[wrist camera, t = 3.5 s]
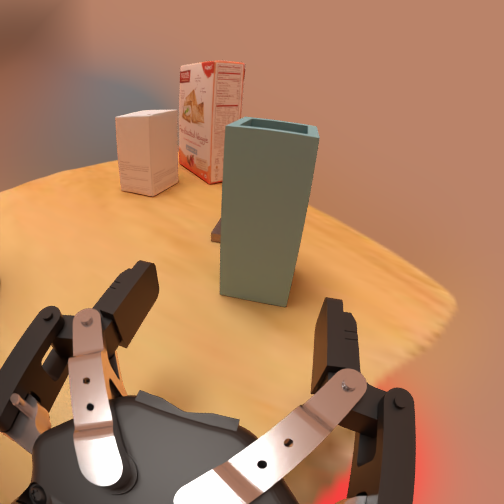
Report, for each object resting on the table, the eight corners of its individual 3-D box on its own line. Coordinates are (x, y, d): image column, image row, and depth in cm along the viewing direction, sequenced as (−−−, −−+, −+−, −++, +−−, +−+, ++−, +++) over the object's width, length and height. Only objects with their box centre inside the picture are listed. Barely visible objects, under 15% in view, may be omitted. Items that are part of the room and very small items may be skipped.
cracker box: (177, 164, 53) (179, 64, 41) (203, 160, 56) (207, 65, 44) (207, 185, 44) (213, 58, 32) (238, 180, 47) (247, 61, 35)
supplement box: (179, 182, 45) (179, 109, 38) (152, 198, 39) (148, 115, 32) (147, 176, 47) (145, 109, 40) (119, 190, 41) (113, 116, 34)
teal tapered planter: (286, 307, 23) (319, 138, 15) (219, 294, 24) (225, 125, 16) (291, 266, 28) (316, 126, 20) (235, 256, 28) (245, 116, 21)
